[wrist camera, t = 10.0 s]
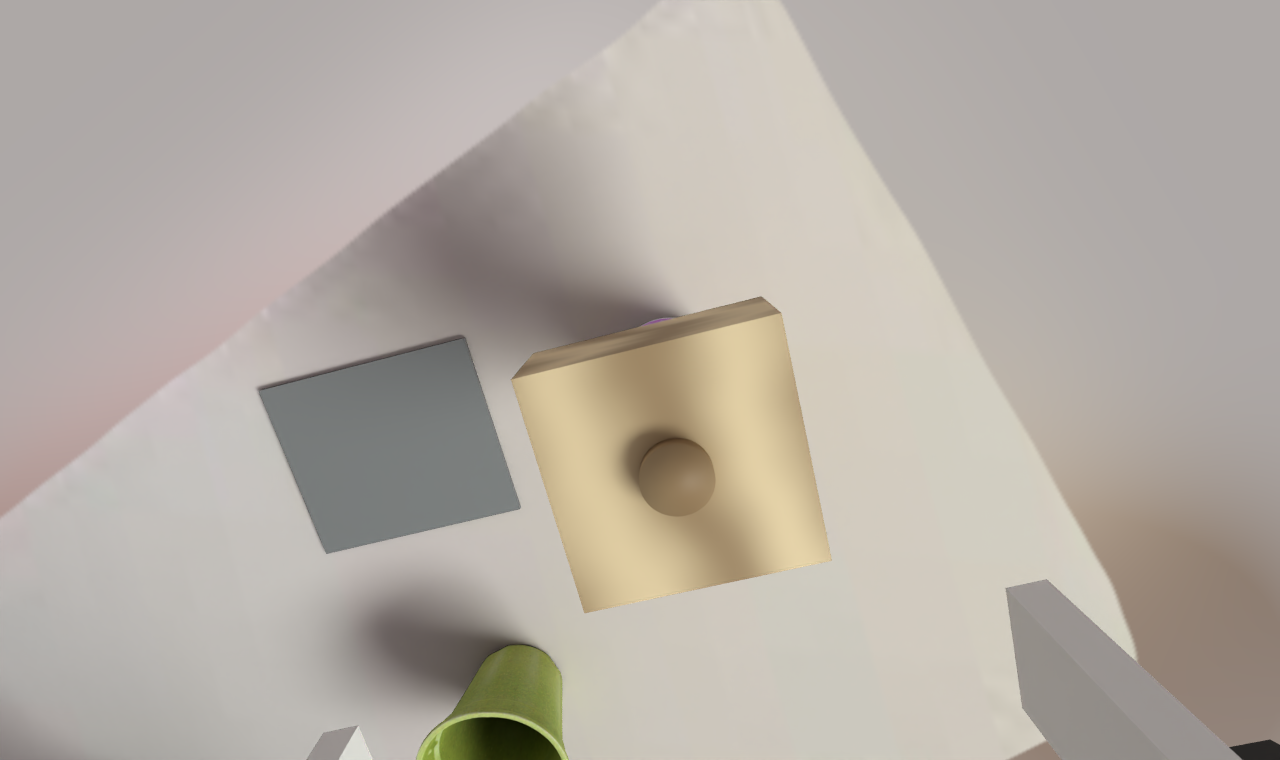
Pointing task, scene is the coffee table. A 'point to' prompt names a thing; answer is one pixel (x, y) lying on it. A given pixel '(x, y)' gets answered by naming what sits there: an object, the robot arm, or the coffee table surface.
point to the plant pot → (504, 712)
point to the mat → (392, 446)
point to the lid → (675, 454)
